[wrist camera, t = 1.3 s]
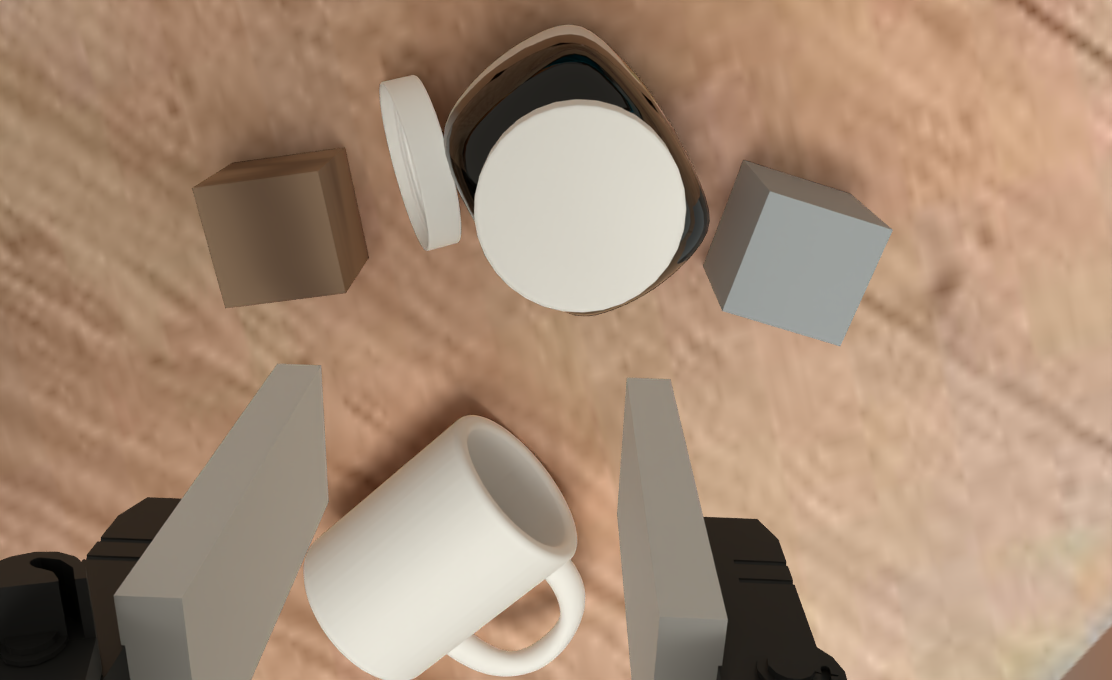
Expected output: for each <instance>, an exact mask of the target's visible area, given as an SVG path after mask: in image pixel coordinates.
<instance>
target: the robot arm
mask: <svg viewBox="0 0 1112 680" xmlns="http://www.w3.org/2000/svg"><path fill="white" fill-rule="evenodd" d="M328 502H329V500H328V481H327V463H326V445H325V426H324V408H323V390H322V372H321V365H299V364H277V365H276V366H275V368H274V369H273V371H272V372H271V373H270V375H269V376H268V378H267V379H266V381H265V382H264V383H263V385H262V386H261V388H260V389H259V390H258V392H257V393H256V395H255V396H254V398H253V399H252V400H251V402H250V403H249V405H248V406H247V407H246V409H245V410H244V412H243V413H242V414H241V416H240V417H239V419H238V420H237V422H236V423H235V424H234V426H233V427H232V429H231V430H230V431H229V433H228V434H227V436H226V437H225V439H224V440H223V441H222V443H221V444H220V446H219V447H218V448H217V450H216V451H215V453H214V454H213V456H212V457H211V458H210V460H209V461H208V463H207V464H206V465H205V467H204V468H203V470H202V471H201V472H200V474H199V475H198V477H197V478H196V480H195V481H194V482H193V484H192V485H191V487H190V488H189V489H188V491H187V492H186V494H185V495H184V497H183V498H182V499H175V498H150V497H147V498H146V499H144V500H142V501H141V502H139V503H138V504H136V505H135V506H133V507H131V508H130V509H128V510H127V511H125V512H123V513H122V514H120V515H119V516H118V517H117V518H116V519H115V520H114V522H113V523H112V524H111V525H110V527H109V528H108V529H107V530H106V532H105V533H104V534H103V535H102V537H101V541H100V542H97V543H96V544H95V545H94V547H93V548H92V549H91V550H90V552H89V553H88V554H87V559H86V560H85V559H83V560H82V562H81V561H80V560H79V559H78V558H76V557H75V556H71V555H68V554H64V553H60V552H32V553H27V554H22V555H17V556H12V557H9V558H6V559H3V560H1V561H0V680H251V679H252V676H253V674H254V672H255V670H256V667H257V665H258V663H259V660H260V658H261V656H262V654H263V651H264V649H265V647H266V644H267V642H268V640H269V637H270V635H271V633H272V631H273V628H274V626H275V624H276V621H277V619H278V617H279V615H280V612H281V610H282V608H283V605H284V603H285V601H286V598H287V596H288V594H289V592H290V589H291V587H292V585H293V582H294V580H295V578H296V576H297V573H298V571H299V569H300V566H301V564H302V562H303V560H304V557H305V555H306V553H307V550H308V548H309V546H310V543H311V541H312V539H313V537H314V534H315V532H316V530H317V527H318V525H319V523H320V521H321V518H322V516H323V514H324V511H325V509H326V507H327V504H328ZM617 517H618V529H619V540H620V552H621V563H622V575H623V586H624V598H625V609H626V621H627V632H628V644H629V655H630V667H631V678H632V680H847V678H846V674H845V671H844V670H843V669H842V668H841V667H840V665H839V664H838V663H837V662H836V661H835V660H834V658H833V657H831V656H830V655H828V654H827V653H825V652H824V651H822V650H820V649H819V648H817V646H816V644H815V641H814V638H813V635H812V632H811V630H810V627H809V624H808V621H807V618H806V616H805V613H804V610H803V607H802V604H801V602H800V599H799V596H798V593H797V590H796V588H795V585H793V579H792V576H791V574H790V571H789V568H788V566H786V560H785V557H784V554H783V551H782V548H781V546H780V543H779V540H778V539H777V538H776V537H775V536H774V535H773V534H772V533H771V532H770V531H769V530H768V529H767V528H766V527H765V526H764V525H763V524H762V523H761V522H760V521H759V520H758V519H743V518H717V517H703V514H702V509H701V505H700V501H699V497H698V493H697V488H696V484H695V480H694V476H693V472H692V468H691V463H690V459H689V455H688V451H687V447H686V442H685V438H684V434H683V430H682V426H681V421H680V417H679V413H678V409H677V405H676V400H675V396H674V392H673V388H672V384H671V380H670V379H649V378H627V382H626V396H625V411H624V425H623V439H622V453H621V467H620V481H619V495H618V509H617Z"/></svg>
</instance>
